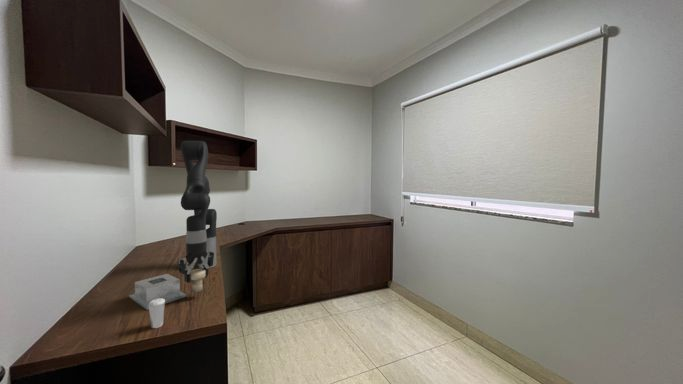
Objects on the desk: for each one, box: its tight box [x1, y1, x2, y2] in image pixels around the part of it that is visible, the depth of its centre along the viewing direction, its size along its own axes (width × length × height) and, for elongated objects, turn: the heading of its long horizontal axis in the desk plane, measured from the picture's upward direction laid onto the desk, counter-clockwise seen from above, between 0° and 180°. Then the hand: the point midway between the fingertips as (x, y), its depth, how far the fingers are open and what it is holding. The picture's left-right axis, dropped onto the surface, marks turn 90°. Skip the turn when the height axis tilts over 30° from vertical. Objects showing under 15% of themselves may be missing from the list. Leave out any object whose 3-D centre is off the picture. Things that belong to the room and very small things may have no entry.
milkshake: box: [148, 293, 166, 329], centre depth 86 cm, size 5×5×10 cm
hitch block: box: [128, 273, 187, 311], centre depth 107 cm, size 18×14×7 cm
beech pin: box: [190, 268, 206, 293], centre depth 107 cm, size 6×6×8 cm
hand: (196, 279), depth 107 cm, fingers closed on beech pin, 6 cm apart
